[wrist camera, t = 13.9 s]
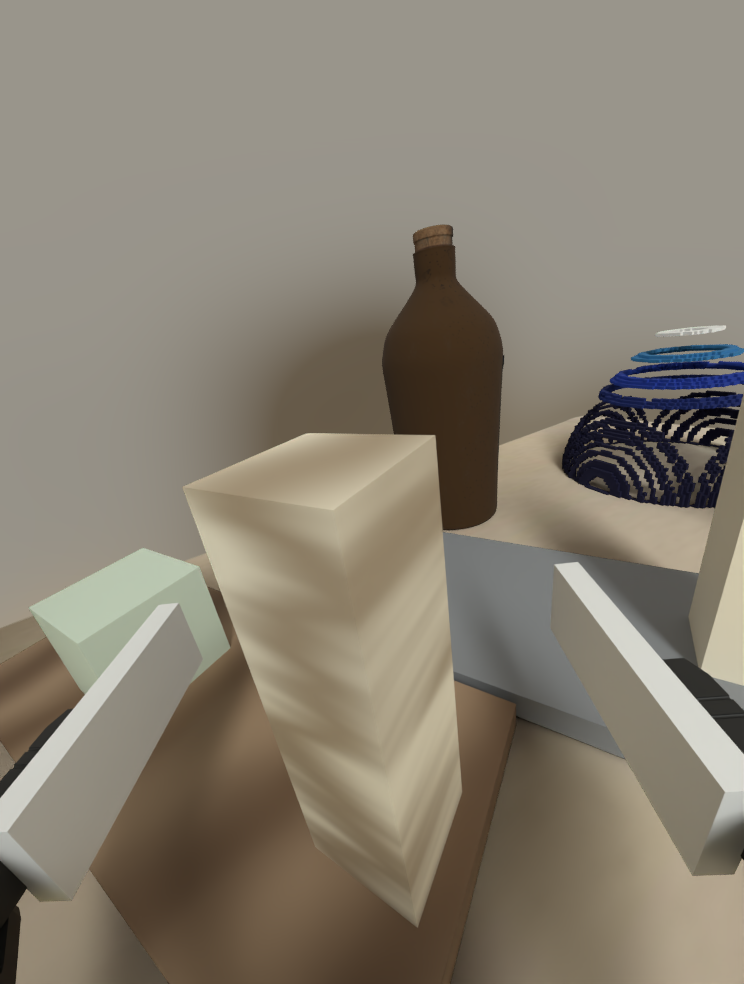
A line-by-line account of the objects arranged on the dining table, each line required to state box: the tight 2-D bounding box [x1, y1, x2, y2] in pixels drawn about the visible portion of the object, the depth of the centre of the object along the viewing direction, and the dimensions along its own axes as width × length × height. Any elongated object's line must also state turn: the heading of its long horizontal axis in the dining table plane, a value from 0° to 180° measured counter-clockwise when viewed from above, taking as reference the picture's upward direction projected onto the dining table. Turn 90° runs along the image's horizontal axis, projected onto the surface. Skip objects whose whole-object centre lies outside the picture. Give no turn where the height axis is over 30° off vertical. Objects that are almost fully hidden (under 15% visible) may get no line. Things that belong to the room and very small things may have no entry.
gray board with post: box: [443, 394, 744, 759], centre depth 21 cm, size 30×13×16 cm, turn 59°
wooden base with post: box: [0, 433, 516, 984], centre depth 18 cm, size 30×13×16 cm, turn 59°
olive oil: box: [382, 225, 504, 530], centre depth 34 cm, size 11×11×25 cm
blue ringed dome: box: [562, 326, 744, 509], centre depth 38 cm, size 20×20×14 cm
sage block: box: [29, 548, 230, 694], centre depth 21 cm, size 6×6×6 cm
